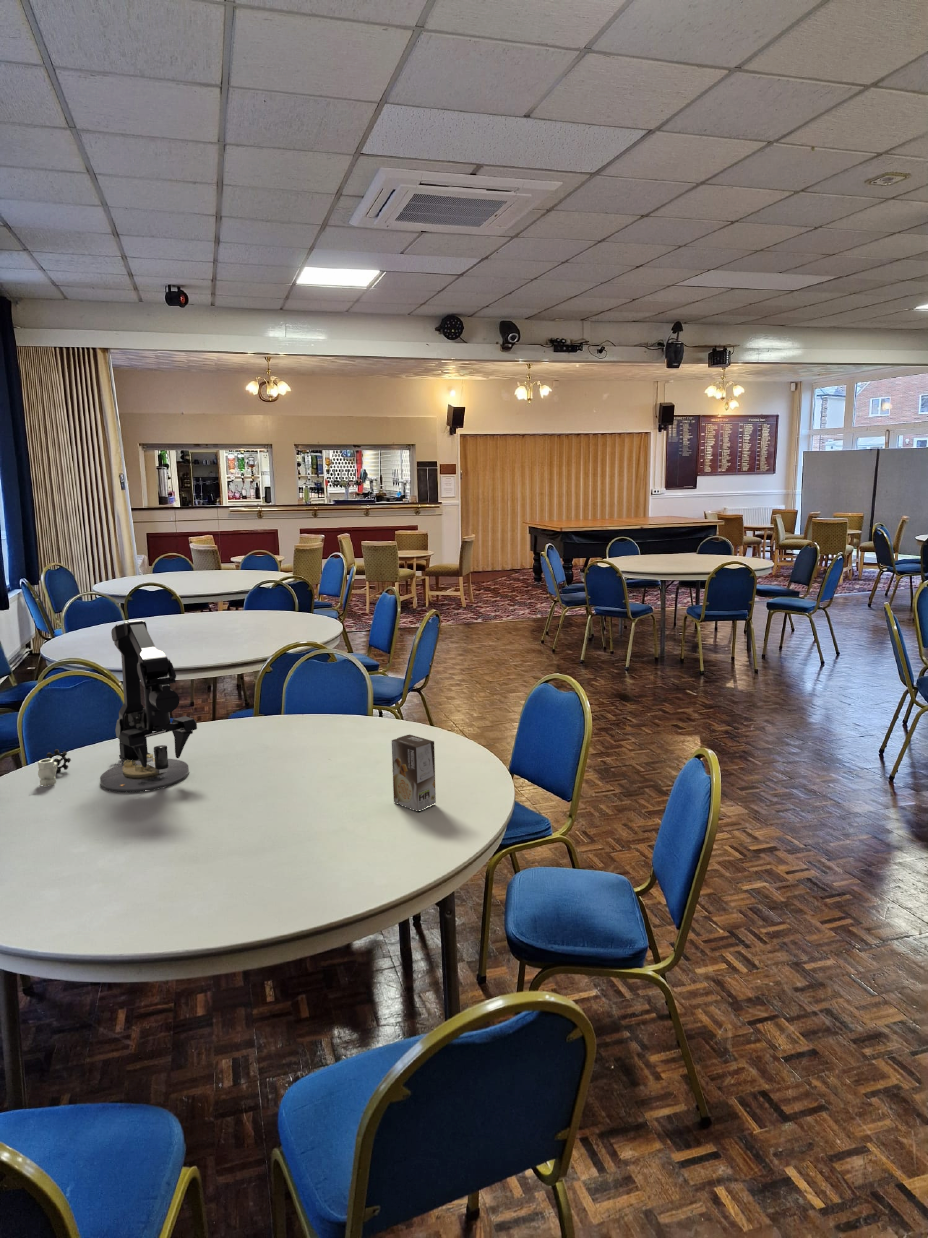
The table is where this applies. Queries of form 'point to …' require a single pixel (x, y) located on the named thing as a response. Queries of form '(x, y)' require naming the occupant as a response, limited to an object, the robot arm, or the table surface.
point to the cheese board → (148, 764)
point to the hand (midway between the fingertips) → (161, 762)
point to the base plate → (144, 778)
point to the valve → (51, 767)
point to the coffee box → (413, 772)
